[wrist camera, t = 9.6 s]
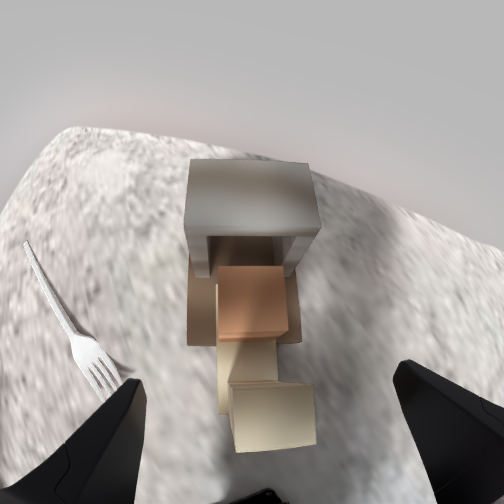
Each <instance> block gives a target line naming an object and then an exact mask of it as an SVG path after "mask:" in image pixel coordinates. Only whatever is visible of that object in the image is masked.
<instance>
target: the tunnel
mask: <svg viewBox="0 0 504 504" xmlns="http://www.w3.org/2000/svg"><path fill="white" fill-rule="evenodd" d="M320 229H321V223H320V218H319V212H318V207H317V202H316V197H315V192H314V188H313V183H312V178H311V174H310V169H309V165H308V163H296V162H295V163H294V162H282V161H265V160H240V159H191V160H190V168H189V176H188V185H187V194H186V203H185V214H184V230H185V235H186V239H187V244H188V248H189V269H188V297H187V345H188V346H217V343H216V284H218V266H283V269H284V280H285V291H286V303H287V316H288V329H289V330H288V331H287V332H285V333H284V334H282V335H281V336H279V337H278V338H276V344H291V343H300V342H302V336H301V324H300V312H299V302H298V292H297V282H296V272H295V268H296V266H297V264H298V263H299V261H300V260H301V258H302V257H303V255H304V254H305V252H306V251H307V249H308V247H309V246H310V244H311V243H312V241H313V240H314V238H315V236H316V235H317V233H318V232H319V230H320Z"/></svg>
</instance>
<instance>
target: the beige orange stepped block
mask: <svg viewBox="0 0 504 504" xmlns="http://www.w3.org/2000/svg"><path fill="white" fill-rule="evenodd" d="M288 330H289V329H288V316H287V303H286V291H285V280H284V269H283V266H218V284H216V343H217V379H218V404H219V414H229V418H230V424H231V429H232V434H233V439H234V444H235V449H236V453H241V452H258V451H270V450H279V449H288V448H295V447H302V446H308V445H314V444H316V423H315V402H314V384H302V383H291V382H281V381H278V368H277V351H276V338H278V337H279V336H281V335H282V334H284V333H285V332H287V331H288Z"/></svg>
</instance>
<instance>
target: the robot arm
mask: <svg viewBox="0 0 504 504" xmlns="http://www.w3.org/2000/svg"><path fill="white" fill-rule="evenodd" d="M393 384H394V387H395V390H396V393H397V396H398V399H399V402H400V405H401V409H402V412H403V414H404V417H405V419H406V422H407V424H408V426H409V429H410V431H411V434H412V436H413V439H414V441H415V443H416V446H417V448H418V451H419V454H420V456H421V459H422V461H423V464H424V467H425V469H426V472H427V475H428V478H429V480H430V483H431V486H432V489H433V492H434V495H435V498H436V501H437V504H504V408H503V407H501V406H498V405H496V404H494V403H492V402H490V401H488V400H486V399H484V398H482V397H479V396H478V395H476V394H474V393H472V392H470V391H468V390H466V389H465V388H463V387H461V386H459V385H457V384H455V383H453V382H451V381H449V380H448V379H446V378H444V377H442V376H440V375H438V374H436V373H435V372H433V371H431V370H429V369H427V368H425V367H423V366H422V365H420V364H418V363H416V362H414V361H412V360H410V359H408V360H404V361H401V362H400V363H399V365H398V367H397V369H396V371H395V374H394V376H393ZM146 404H147V397H146V393H145V390H144V387H143V384H142V381H141V380H140V379H133V378H129V379H127V380H126V381H125V382H124V383H123V384H122V385H121V386H120V387H119V388H118V389H117V390H116V391H115V392H114V393H113V394H112V395H111V396H110V397H109V398H108V399H107V400H106V401H105V402H104V403H103V404H102V405H101V406H100V407H99V408H98V409H97V410H96V411H95V412H94V413H93V414H92V415H91V416H90V417H89V418H88V419H87V420H86V421H85V422H84V423H83V424H82V425H81V426H80V427H79V428H78V429H77V430H76V431H75V432H74V433H73V434H72V435H71V436H70V437H69V438H68V439H67V440H66V441H65V443H63V444H62V445H61V446H60V447H59V448H58V449H57V450H56V451H55V452H54V453H53V454H52V455H51V456H50V457H49V458H48V459H46V460H45V461H44V462H43V463H41V464H40V465H39V466H38V467H36V468H35V469H34V470H32V471H31V472H30V473H28V474H27V475H26V476H24V477H23V478H22V479H20V480H19V481H18V482H16V483H15V484H13V485H11V486H9V487H6V488H3V489H0V504H134V500H135V493H136V486H137V479H138V473H139V466H140V460H141V455H142V449H143V443H144V432H145V417H146ZM267 492H271V494H270V495H266V493H267ZM230 504H290V503H289V502H286V501H285V502H282V501H281V500H280V498H279V497H278V495H277V494H276V493H275V491H274V490H273V489H271V488H267V489H264V490H262V491H259V492H257V493H255V494H253V495H250V496H248V497H245V498H243V499H240V500H238V501H235V502H232V503H230Z"/></svg>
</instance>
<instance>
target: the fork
mask: <svg viewBox="0 0 504 504" xmlns="http://www.w3.org/2000/svg"><path fill="white" fill-rule="evenodd" d="M23 245H24V248H25V250H26V253H27V255H28V258H29V260H30V262H31V265H32V267H33V269H34V272H35V274H36V276H37V278H38V280H39V282H40V285H41V287H42V289H43V291H44V293H45V295H46V297H47V299H48V301H49V303H50V305H51V306H52V308H53V310H54V312H55V314H56V316H57V317H58V319H59V321H60V323H61V324H62V326H63V328H64V330H65V331H66V333H67V335H68V336H69V338H70V341H71V347H72V354H73V357H74V359H75V361H76V363H77V365H78V366H79V368H80V369H81V371H82V372H83V374H84V375H85V377H86V378H87V380H88V381H89V382H90V384H91V385H92V387H93V388H94V390H95V391H96V393H97V394H98V396H99V397H100V399H101V400H102V402H103V403H104V402H105V401H106V400H105V398H104V395H103V393H102V391H101V389H100V387H99V385H98V383H97V381H96V379H95V378H94V376H93V375H92V374H91V372H90V371H89V369H88V367H89V366H90V367H91V369H92V370H93V372H94V374H95V375H96V377H97V378H98V380H99V381H100V383H101V384H102V386H103V387H104V389H105V391H106V392H107V394H108V396H109V397H110V396H111V395H112V394H111V392H110V390H109V388H108V386H107V384H106V382H105V380H104V379H103V377H102V375H101V374H100V372H99V371H98V370H97V369H96V367H95V366H94V364H93V362H94V361H95V362H96V364H97V365H98V367H99V368H100V370H101V371H102V373H103V374H104V376H105V377H106V378H107V380H108V381H109V383H110V385H111V386H112V388H113V389H114V391H116V390H117V387H116V385H115V383H114V382H113V380H112V378H111V376H110V375H109V373H108V371H107V370H106V368H105V367H104V366H103V365H102V363H101V362H100V361H99V359H98V357H101V359H102V360H103V361H104V363H105V364H106V366H107V367H108V368H109V370H110V371H111V373H112V374H113V376H114V377H115V379H116V380H117V382H118V383H119V385H120V386H121V385H122V384H123V382H122V380H121V377H120V375H119V372H118V370H117V368H116V366H115V364H114V362H113V361H112V360H111V358H110V357H109V356H108V354H107V353H106V352H105V351H104V350H103V349H100V345H99V343H98V342H97V341H96V340H95V339H93V338H92V337H90V336H86V335H82V334H80V333H79V332H78V331H77V329H76V328H75V326H74V325H73V323H72V321H71V320H70V318H69V317H68V315H67V314H66V312H65V310H64V309H63V307H62V305H61V304H60V302H59V300H58V298H57V297H56V295H55V293H54V292H53V290H52V288H51V286H50V285H49V283H48V281H47V279H46V278H45V276H44V274H43V272H42V270H41V268H40V266H39V264H38V263H37V261H36V259H35V257H34V254H33V252H32V250H31V248H30V246H29V244H28V242H27V241H26V242H25V243H24V244H23Z"/></svg>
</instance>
